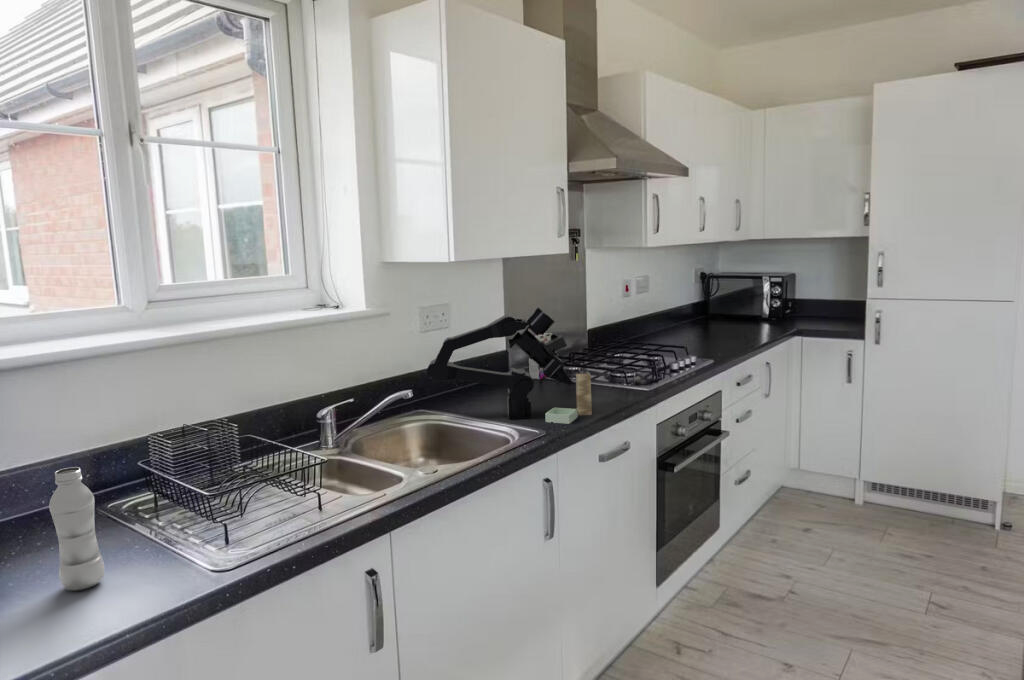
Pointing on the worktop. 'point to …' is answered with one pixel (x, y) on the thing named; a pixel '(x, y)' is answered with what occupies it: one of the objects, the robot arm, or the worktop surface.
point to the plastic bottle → (75, 531)
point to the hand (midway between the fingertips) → (570, 380)
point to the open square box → (561, 415)
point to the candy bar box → (533, 366)
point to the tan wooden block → (583, 394)
